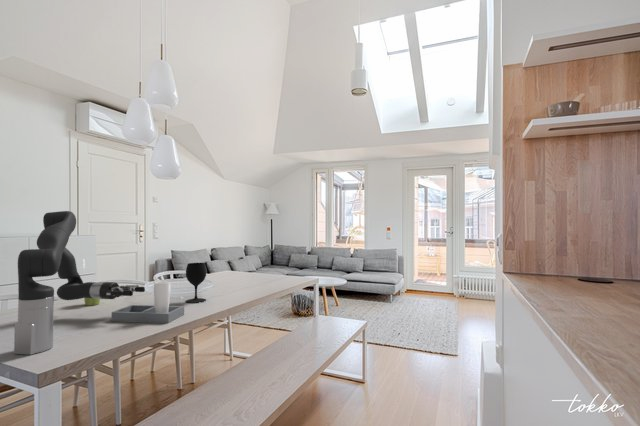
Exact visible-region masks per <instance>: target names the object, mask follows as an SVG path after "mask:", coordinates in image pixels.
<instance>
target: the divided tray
mask: <svg viewBox="0 0 640 426" xmlns="http://www.w3.org/2000/svg"><path fill="white" fill-rule="evenodd" d="M184 315H185V306H184V305H169V313H155V304H153V305H151V304H150V305H149V304H148V305H147V304H129V305H127V306H124V307H121V308H119V309H116V310H114V311H112V312H111V322H121V323H122V322H126V323H150V324H151V323H155V324H159V323H160V324H169V323H171V322H173V321H175V320H177V319H179V318H180V317H183V316H184Z"/></svg>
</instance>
